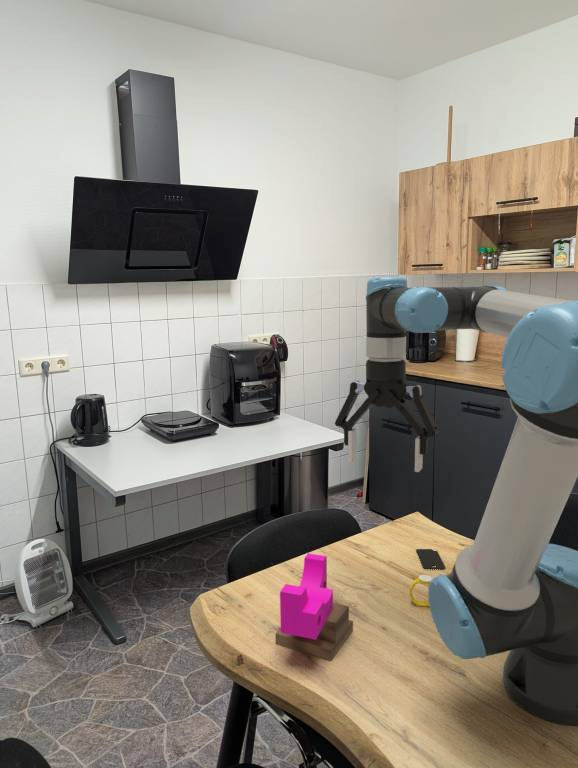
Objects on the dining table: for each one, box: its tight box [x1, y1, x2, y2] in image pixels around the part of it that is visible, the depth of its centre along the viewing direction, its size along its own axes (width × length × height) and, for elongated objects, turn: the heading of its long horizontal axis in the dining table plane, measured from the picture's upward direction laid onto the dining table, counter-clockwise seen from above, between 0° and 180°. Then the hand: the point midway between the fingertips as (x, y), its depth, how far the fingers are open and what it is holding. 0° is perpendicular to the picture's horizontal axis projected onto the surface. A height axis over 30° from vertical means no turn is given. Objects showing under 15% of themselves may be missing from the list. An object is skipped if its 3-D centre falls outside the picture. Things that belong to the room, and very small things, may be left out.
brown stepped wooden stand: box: [275, 601, 354, 661], centre depth 107 cm, size 11×10×6 cm
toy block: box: [279, 552, 334, 640], centre depth 104 cm, size 15×6×8 cm, turn 160°
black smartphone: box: [415, 548, 446, 571], centre depth 138 cm, size 5×1×10 cm
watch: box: [408, 574, 433, 608], centre depth 118 cm, size 6×3×6 cm, turn 80°
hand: (384, 465), depth 115 cm, fingers open, 13 cm apart
